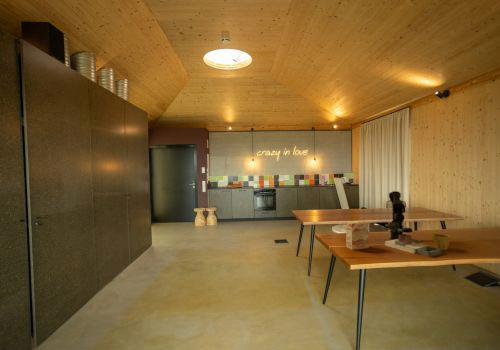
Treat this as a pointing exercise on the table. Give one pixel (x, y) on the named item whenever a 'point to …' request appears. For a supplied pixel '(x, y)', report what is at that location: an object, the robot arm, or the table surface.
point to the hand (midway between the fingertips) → (398, 239)
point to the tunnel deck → (414, 247)
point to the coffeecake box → (357, 235)
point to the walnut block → (405, 239)
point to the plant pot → (441, 241)
